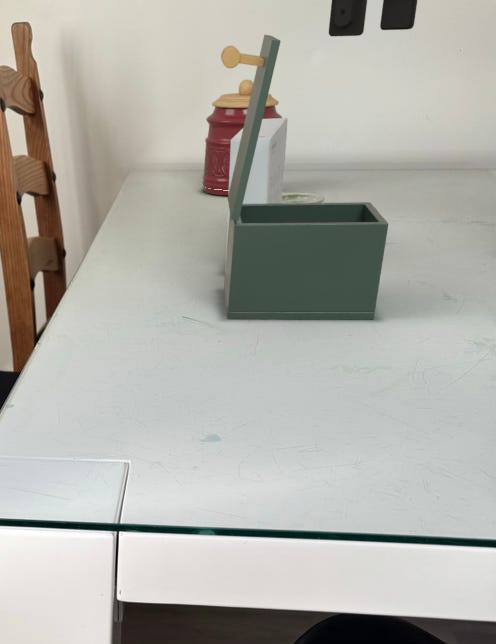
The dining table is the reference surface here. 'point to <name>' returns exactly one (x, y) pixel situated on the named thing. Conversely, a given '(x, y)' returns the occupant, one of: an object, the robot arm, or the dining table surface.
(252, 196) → the skincare box
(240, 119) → the kitchen canister
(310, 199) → the saucer
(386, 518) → the dining table surface
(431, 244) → the dining table surface
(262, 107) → the bin lid
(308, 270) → the bin
